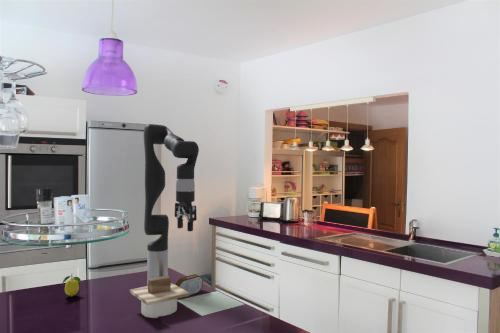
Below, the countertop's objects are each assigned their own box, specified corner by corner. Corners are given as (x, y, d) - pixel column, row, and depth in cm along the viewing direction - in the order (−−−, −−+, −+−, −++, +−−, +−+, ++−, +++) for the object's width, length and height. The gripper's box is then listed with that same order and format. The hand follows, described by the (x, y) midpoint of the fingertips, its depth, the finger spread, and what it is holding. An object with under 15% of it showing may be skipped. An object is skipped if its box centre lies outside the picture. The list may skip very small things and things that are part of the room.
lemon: (61, 299, 163) (62, 275, 163) (63, 295, 169) (63, 272, 169) (79, 298, 165) (79, 274, 165) (80, 293, 171) (80, 270, 171)
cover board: (129, 292, 154) (129, 276, 153) (169, 284, 164) (169, 269, 164) (147, 305, 140) (147, 288, 140) (189, 295, 151) (189, 279, 150)
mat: (176, 301, 162) (176, 300, 162) (217, 292, 174) (217, 291, 174) (201, 317, 146) (201, 315, 146) (244, 305, 159) (244, 304, 159)
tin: (199, 290, 177) (199, 271, 177) (204, 292, 175) (204, 273, 175) (173, 299, 165) (173, 279, 165) (178, 301, 163) (178, 280, 163)
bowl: (136, 309, 153) (136, 293, 153) (167, 302, 161) (167, 286, 161) (150, 320, 143) (150, 302, 143) (182, 312, 151) (182, 295, 151)
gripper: (169, 189, 164) (168, 228, 164) (185, 191, 152) (185, 233, 153) (185, 188, 168) (184, 226, 169) (202, 190, 157) (202, 231, 157)
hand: (185, 229), depth 161 cm, fingers open, 8 cm apart
